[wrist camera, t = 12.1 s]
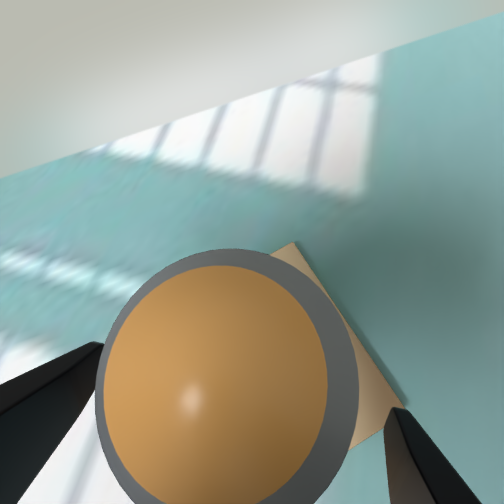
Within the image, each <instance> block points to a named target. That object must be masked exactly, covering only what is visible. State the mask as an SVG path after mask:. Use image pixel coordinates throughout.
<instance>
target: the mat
mask: <svg viewBox="0 0 504 504" xmlns="http://www.w3.org/2000/svg"><path fill="white" fill-rule="evenodd" d="M270 256H273V257H275V258H278V259H280V260H283V261H284V262H286V263H288V264H290V265H292V266H294V267H295V268H297V269H298V270H299V271H301V272H302V273H304V274H305V275H306V276H308V277H309V278H310V279H311V280H312V281H313V282H314V283H315V284H316V285H317V286H318V287H320V289H321V290H322V291H323V292H324V293H325V295H326V296H327V297H328V298H329V299H330V301H331V302H332V304H333V305H334V307H335V308H336V310H337V311H338V313H339V314H340V316H341V318H342V320H343V322H344V325H345V327H346V329H347V331H348V333H349V336H350V339H351V342H352V345H353V348H354V352H355V357H356V362H357V367H358V377H359V409H358V414H357V420H356V426H355V431H354V434H353V437H352V440H351V444H350V447H349V450H350V449H351V448H353V447H355V446H356V445H358V444H359V443H361V442H362V441H364V440H365V439H367V438H368V437H370V436H372V435H373V434H375V433H376V432H378V431H379V430H381V429H382V428H384V425H385V422H386V419H387V417H388V414H389V412H390V409H391V408H392V407H398V408H403V409H405V408H404V406H403V405H402V403H401V402H400V400H399V399H398V397H397V396H396V394H395V393H394V391H393V390H392V388H391V387H390V385H389V384H388V382H387V381H386V379H385V378H384V376H383V375H382V374H381V372H380V371H379V369H378V368H377V366H376V365H375V363H374V362H373V360H372V359H371V357H370V356H369V354H368V353H367V351H366V350H365V348H364V347H363V345H362V344H361V342H360V341H359V339H358V338H357V336H356V335H355V333H354V332H353V330H352V329H351V327H350V326H349V324H348V323H347V321H346V320H345V318H344V317H343V315H342V314H341V312H340V311H339V310H338V308H337V307H336V305H335V304H334V302H333V301H332V299H331V298H330V296H329V295H328V293H327V292H326V290H325V289H324V287H323V286H322V284H321V283H320V281H319V280H318V278H317V277H316V275H315V274H314V272H313V271H312V269H311V268H310V266H309V265H308V263H307V262H306V260H305V259H304V257H303V256H302V254H301V253H300V251H299V250H298V248H297V247H296V246H295V244H294V243H293V242H292V243H290V244H288V245H286V246H284V247H283V248H281V249H279V250H277V251H275V252H274V253H272V254H270Z"/></svg>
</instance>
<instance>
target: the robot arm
mask: <svg viewBox="0 0 504 504" xmlns="http://www.w3.org/2000/svg"><path fill="white" fill-rule="evenodd" d="M103 347H104V344H103V343H100V342H95V341H93V342H89V343H87V344H85V345H83V346H81V347H79V348H77V349H75V350H72V351H70V352H68V353H66V354H64V355H62V356H60V357H58V358H56V359H53V360H51V361H49V362H47V363H45V364H43V365H41V366H39V367H37V368H34V369H32V370H30V371H28V372H26V373H24V374H22V375H20V376H18V377H15V378H13V379H11V380H9V381H7V382H5V383H3V384H1V385H0V504H17V503H18V501H19V500H20V499H21V497H22V496H23V494H24V493H25V491H26V490H27V489H28V487H29V486H30V484H31V483H32V482H33V480H34V479H35V477H36V476H37V475H38V473H39V472H40V470H41V469H42V468H43V466H44V465H45V463H46V462H47V461H48V459H49V458H50V456H51V455H52V453H53V452H54V451H55V449H56V448H57V446H58V445H59V444H60V442H61V441H62V439H63V438H64V437H65V435H66V434H67V432H68V431H69V430H70V428H71V427H72V425H73V424H74V423H75V421H76V420H77V418H78V417H79V415H80V414H81V412H82V411H83V409H84V407H85V406H86V404H87V402H88V401H89V399H90V397H91V395H92V394H93V392H94V390H95V386H96V376H97V370H98V366H99V361H100V357H101V354H102V351H103ZM384 444H385V455H386V466H387V477H388V487H389V496H390V502H391V504H482V503H481V502H480V501H479V499H478V498H477V497H476V496H475V494H474V493H473V492H472V490H471V489H470V488H469V487H468V485H467V484H466V483H465V482H464V480H463V479H462V478H461V476H460V475H459V474H458V473H457V471H456V470H455V469H454V468H453V466H452V465H451V464H450V462H449V461H448V460H447V459H446V457H445V456H444V455H443V454H442V452H441V451H440V450H439V448H438V447H437V446H436V445H435V443H434V442H433V441H432V439H431V438H430V437H429V436H428V434H427V433H426V432H425V431H424V429H423V428H422V427H421V425H420V424H419V423H418V422H417V420H416V419H415V418H414V417H413V415H412V414H411V413H410V412H409V411H408V410H406V409H403V408H398V407H392V408H391V409H390V412H389V414H388V417H387V419H386V422H385V425H384Z"/></svg>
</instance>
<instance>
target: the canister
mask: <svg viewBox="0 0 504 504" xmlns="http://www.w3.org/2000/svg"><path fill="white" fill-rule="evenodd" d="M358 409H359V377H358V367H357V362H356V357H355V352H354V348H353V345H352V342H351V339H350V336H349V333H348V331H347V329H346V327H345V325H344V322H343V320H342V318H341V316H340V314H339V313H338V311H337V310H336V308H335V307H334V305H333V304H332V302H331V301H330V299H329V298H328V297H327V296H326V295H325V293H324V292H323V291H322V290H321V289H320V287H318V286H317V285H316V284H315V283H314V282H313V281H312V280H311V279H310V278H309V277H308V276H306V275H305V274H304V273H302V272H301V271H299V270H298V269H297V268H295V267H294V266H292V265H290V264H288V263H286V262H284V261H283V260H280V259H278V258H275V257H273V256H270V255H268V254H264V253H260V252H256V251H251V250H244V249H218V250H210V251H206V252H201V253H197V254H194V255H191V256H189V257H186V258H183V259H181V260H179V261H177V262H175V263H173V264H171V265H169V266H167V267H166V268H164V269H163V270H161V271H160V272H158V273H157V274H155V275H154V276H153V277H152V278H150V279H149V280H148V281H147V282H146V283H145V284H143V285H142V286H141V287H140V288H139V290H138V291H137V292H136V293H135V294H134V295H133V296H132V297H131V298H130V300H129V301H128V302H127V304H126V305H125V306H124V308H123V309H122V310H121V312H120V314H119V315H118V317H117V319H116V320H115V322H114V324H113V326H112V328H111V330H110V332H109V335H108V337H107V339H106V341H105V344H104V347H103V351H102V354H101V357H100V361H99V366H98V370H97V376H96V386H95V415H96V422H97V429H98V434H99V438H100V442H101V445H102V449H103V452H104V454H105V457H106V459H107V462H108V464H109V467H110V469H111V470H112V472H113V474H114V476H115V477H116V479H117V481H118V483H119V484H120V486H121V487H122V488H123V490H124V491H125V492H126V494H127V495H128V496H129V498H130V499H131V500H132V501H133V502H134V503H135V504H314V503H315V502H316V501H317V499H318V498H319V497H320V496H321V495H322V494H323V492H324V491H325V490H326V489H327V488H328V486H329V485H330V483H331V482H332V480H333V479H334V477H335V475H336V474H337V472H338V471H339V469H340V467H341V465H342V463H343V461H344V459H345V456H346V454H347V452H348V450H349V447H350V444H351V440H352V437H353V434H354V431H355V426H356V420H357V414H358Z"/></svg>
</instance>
